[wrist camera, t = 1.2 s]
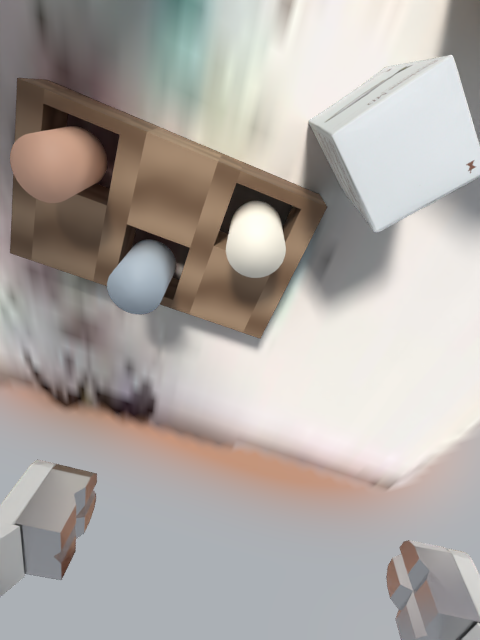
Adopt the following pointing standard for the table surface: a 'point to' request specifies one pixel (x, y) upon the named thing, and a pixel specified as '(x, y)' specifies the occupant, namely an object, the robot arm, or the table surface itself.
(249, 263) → the cream egg-shaped piece
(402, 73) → the supplement box
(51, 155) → the tan rounded short cylinder
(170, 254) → the key slate
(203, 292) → the tray
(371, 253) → the table surface
